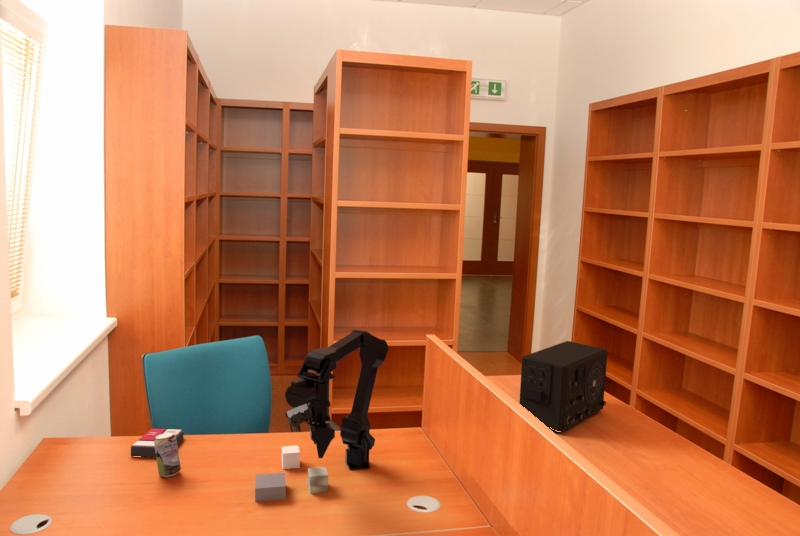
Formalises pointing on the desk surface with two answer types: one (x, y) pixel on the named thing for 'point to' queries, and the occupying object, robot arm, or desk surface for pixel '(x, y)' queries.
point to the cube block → (317, 480)
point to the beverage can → (167, 454)
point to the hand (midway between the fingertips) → (318, 450)
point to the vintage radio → (564, 383)
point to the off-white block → (290, 457)
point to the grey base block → (270, 487)
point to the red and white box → (152, 442)
